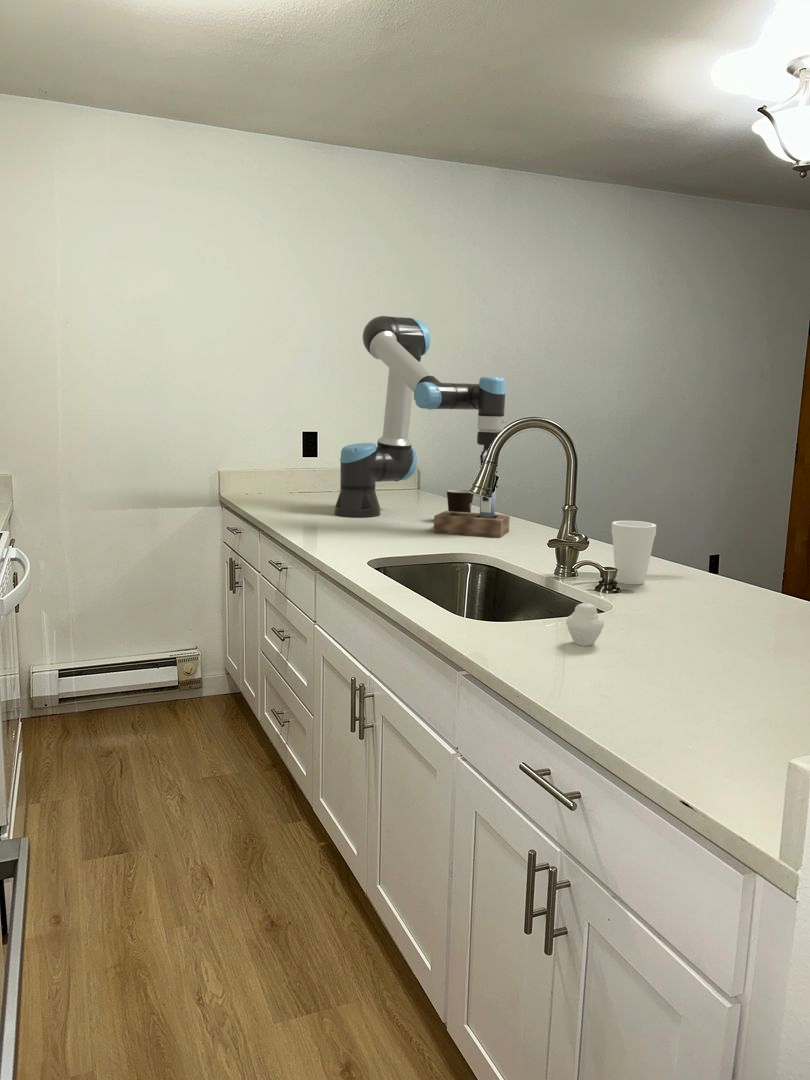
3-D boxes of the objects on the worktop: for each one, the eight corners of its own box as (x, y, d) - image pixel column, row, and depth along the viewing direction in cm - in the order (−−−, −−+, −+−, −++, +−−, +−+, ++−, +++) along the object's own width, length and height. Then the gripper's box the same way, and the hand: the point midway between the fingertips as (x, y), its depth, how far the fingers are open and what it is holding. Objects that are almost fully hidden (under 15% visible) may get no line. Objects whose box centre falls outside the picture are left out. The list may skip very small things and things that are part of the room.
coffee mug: (463, 525, 265) (464, 493, 263) (440, 522, 270) (441, 490, 268) (482, 521, 274) (484, 490, 272) (460, 518, 279) (461, 488, 277)
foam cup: (600, 577, 192) (604, 521, 190) (634, 575, 196) (638, 520, 193) (625, 587, 184) (629, 528, 182) (660, 584, 187) (664, 526, 185)
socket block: (433, 532, 249) (434, 515, 248) (444, 526, 260) (445, 510, 259) (500, 537, 243) (501, 520, 242) (508, 531, 254) (509, 515, 253)
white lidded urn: (597, 638, 145) (599, 598, 143) (607, 648, 138) (609, 607, 137) (561, 637, 144) (563, 597, 143) (569, 648, 138) (571, 606, 137)
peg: (477, 526, 249) (479, 475, 246) (481, 524, 253) (483, 474, 250) (492, 527, 247) (494, 476, 245) (495, 525, 251) (497, 475, 249)
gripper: (496, 432, 236) (493, 515, 240) (509, 430, 252) (505, 508, 256) (470, 431, 238) (467, 514, 242) (484, 429, 254) (481, 506, 258)
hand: (487, 511), depth 249 cm, fingers closed on peg, 4 cm apart
